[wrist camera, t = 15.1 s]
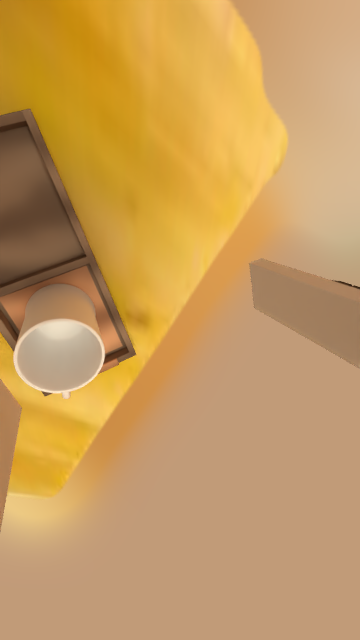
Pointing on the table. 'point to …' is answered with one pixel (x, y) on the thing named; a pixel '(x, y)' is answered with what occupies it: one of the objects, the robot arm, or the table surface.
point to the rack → (45, 238)
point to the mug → (59, 341)
